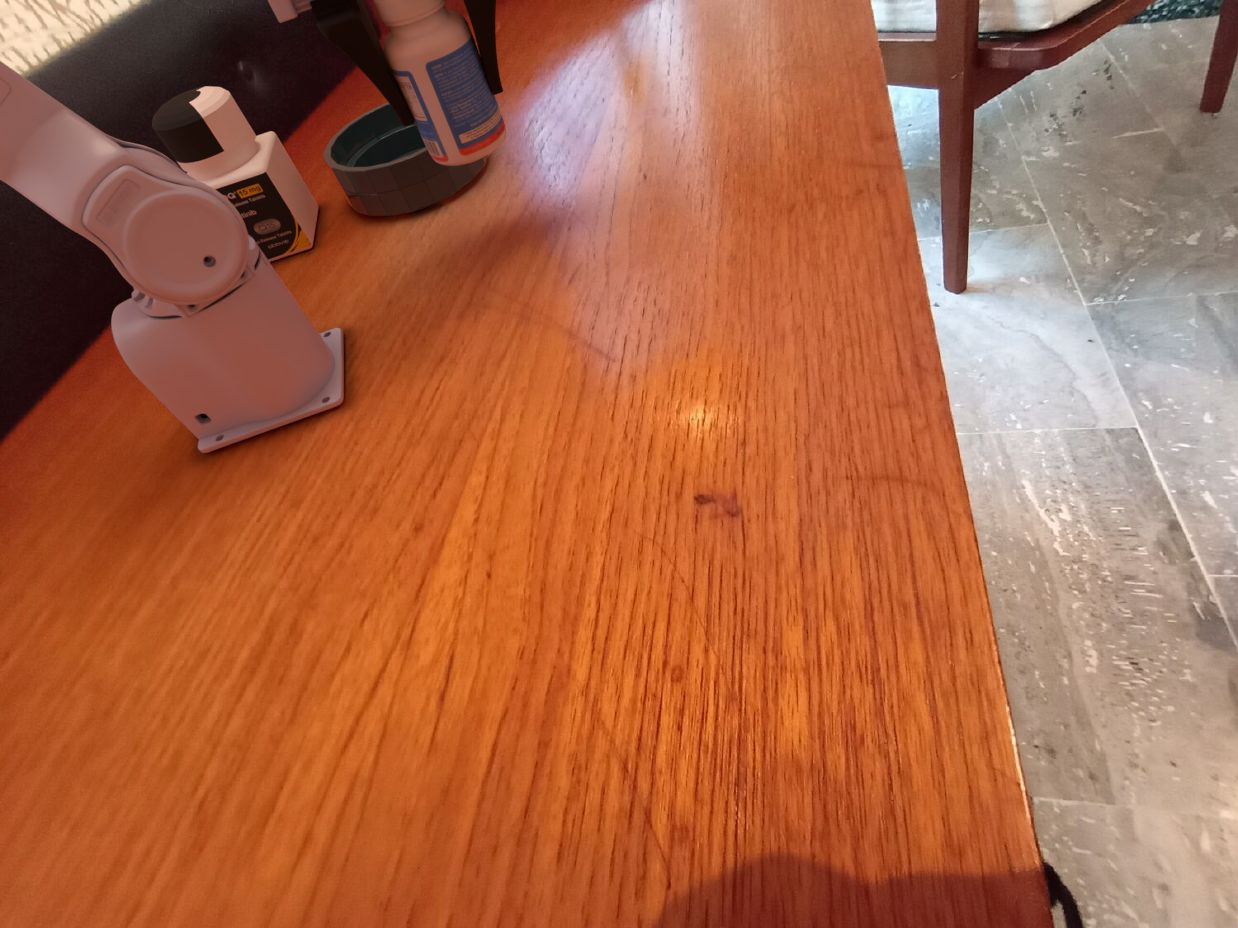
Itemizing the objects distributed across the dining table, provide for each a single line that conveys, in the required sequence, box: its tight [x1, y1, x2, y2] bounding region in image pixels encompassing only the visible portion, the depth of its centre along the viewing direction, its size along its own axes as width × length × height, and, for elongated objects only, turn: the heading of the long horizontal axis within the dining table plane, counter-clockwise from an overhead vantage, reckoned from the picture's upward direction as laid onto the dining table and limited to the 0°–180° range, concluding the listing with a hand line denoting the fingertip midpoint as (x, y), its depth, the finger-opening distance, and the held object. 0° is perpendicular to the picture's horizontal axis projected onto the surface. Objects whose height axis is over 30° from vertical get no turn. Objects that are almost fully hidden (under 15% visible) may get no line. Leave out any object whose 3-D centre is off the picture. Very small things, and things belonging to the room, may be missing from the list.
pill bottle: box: [372, 0, 507, 166], centre depth 45 cm, size 6×5×10 cm
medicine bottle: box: [151, 85, 320, 263], centre depth 58 cm, size 7×7×12 cm
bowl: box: [323, 101, 489, 217], centre depth 62 cm, size 13×13×4 cm
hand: (451, 104), depth 47 cm, fingers closed on pill bottle, 5 cm apart
